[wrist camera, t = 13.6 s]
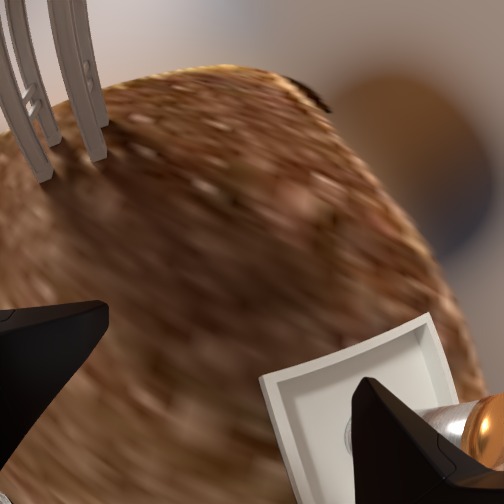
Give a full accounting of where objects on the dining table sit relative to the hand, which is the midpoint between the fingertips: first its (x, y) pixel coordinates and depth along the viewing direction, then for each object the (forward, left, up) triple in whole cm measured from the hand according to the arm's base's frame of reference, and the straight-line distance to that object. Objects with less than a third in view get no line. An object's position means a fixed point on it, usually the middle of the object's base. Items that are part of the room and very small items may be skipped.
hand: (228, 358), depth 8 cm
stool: (-17, +35, -14) cm, 41 cm away
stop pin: (+10, -8, -13) cm, 18 cm away
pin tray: (+10, -8, -14) cm, 19 cm away
